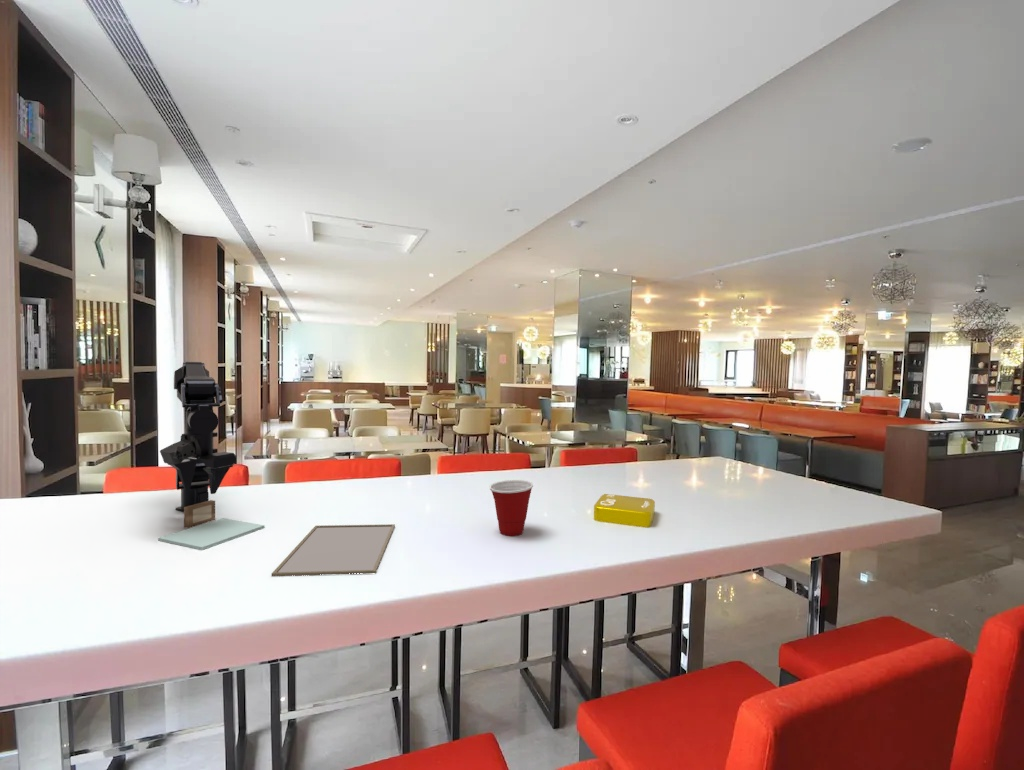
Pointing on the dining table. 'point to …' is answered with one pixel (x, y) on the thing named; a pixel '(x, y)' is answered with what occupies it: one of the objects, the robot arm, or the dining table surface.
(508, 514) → the plastic cup
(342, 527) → the picture frame
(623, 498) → the element tile
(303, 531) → the dining table surface
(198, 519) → the brown wooden block
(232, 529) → the mat
